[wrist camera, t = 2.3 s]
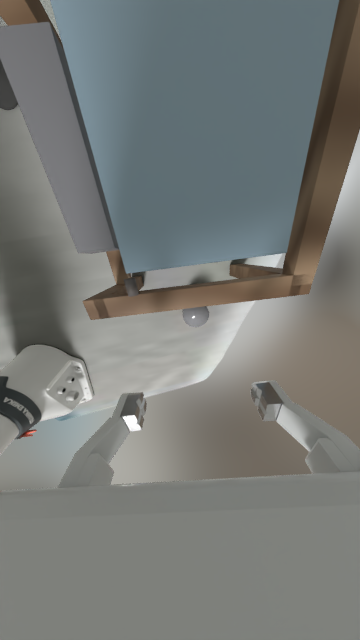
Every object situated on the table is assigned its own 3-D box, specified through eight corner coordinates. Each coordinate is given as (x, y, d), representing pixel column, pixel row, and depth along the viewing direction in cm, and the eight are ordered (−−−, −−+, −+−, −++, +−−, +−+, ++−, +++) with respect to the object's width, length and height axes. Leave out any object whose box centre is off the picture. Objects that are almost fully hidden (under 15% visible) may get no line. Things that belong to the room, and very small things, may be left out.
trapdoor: (267, 253, 14) (286, 252, 12) (98, 275, 14) (85, 279, 11) (308, -13, 8) (364, -122, 6) (5, 17, 8) (-66, -86, 5)
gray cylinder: (204, 315, 32) (209, 325, 27) (183, 318, 32) (184, 328, 27) (203, 294, 29) (208, 301, 25) (180, 297, 29) (181, 305, 25)
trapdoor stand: (239, 273, 28) (313, 295, 13) (134, 287, 28) (87, 322, 13) (251, 104, 18) (605, -598, 3) (92, 128, 19) (-240, -380, 4)
